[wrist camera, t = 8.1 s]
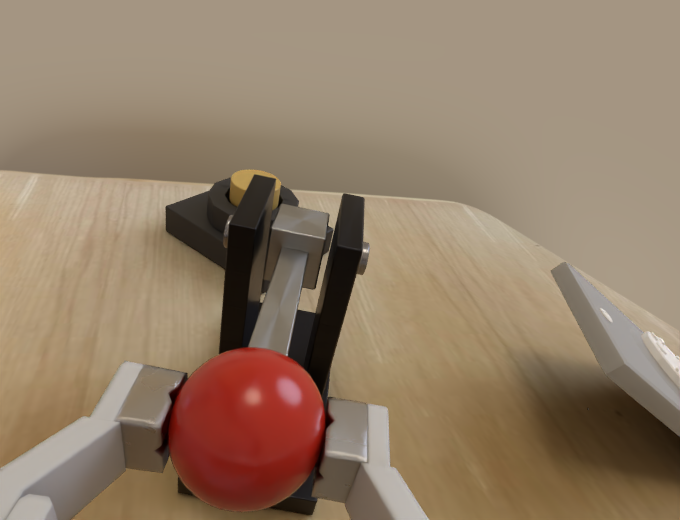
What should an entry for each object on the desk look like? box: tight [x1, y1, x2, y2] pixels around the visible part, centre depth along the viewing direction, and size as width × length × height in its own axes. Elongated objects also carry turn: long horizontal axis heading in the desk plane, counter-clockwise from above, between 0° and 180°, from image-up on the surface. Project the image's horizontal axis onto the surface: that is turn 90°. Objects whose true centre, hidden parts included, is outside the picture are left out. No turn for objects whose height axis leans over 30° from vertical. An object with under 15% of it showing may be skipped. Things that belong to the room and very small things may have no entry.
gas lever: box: [168, 204, 329, 512], centre depth 15 cm, size 13×4×4 cm, turn 177°
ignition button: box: [229, 170, 281, 210], centre depth 34 cm, size 4×4×2 cm
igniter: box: [166, 178, 333, 293], centre depth 36 cm, size 10×8×4 cm
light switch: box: [551, 262, 680, 437], centre depth 28 cm, size 8×6×14 cm
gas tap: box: [178, 174, 370, 515], centre depth 22 cm, size 12×6×12 cm, turn 177°
